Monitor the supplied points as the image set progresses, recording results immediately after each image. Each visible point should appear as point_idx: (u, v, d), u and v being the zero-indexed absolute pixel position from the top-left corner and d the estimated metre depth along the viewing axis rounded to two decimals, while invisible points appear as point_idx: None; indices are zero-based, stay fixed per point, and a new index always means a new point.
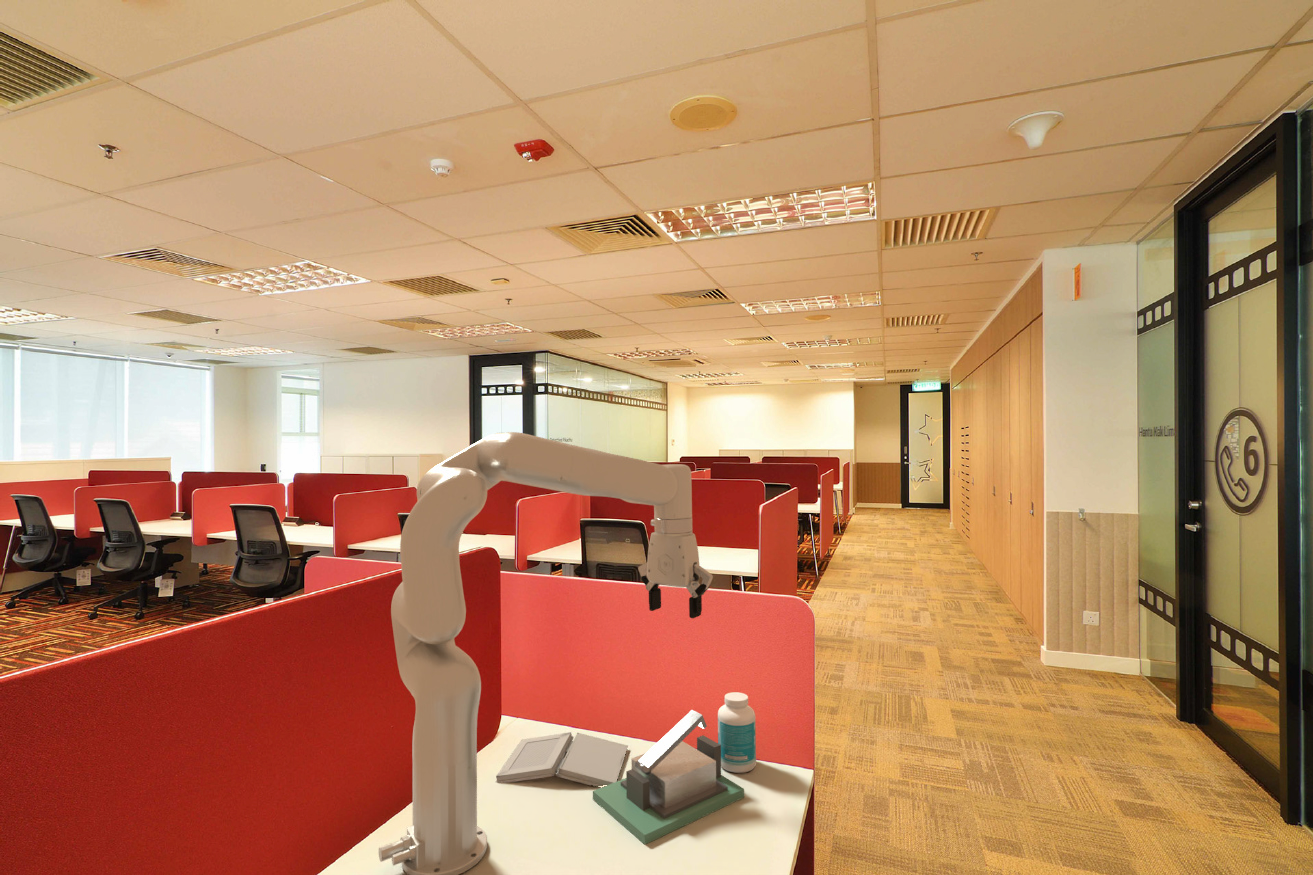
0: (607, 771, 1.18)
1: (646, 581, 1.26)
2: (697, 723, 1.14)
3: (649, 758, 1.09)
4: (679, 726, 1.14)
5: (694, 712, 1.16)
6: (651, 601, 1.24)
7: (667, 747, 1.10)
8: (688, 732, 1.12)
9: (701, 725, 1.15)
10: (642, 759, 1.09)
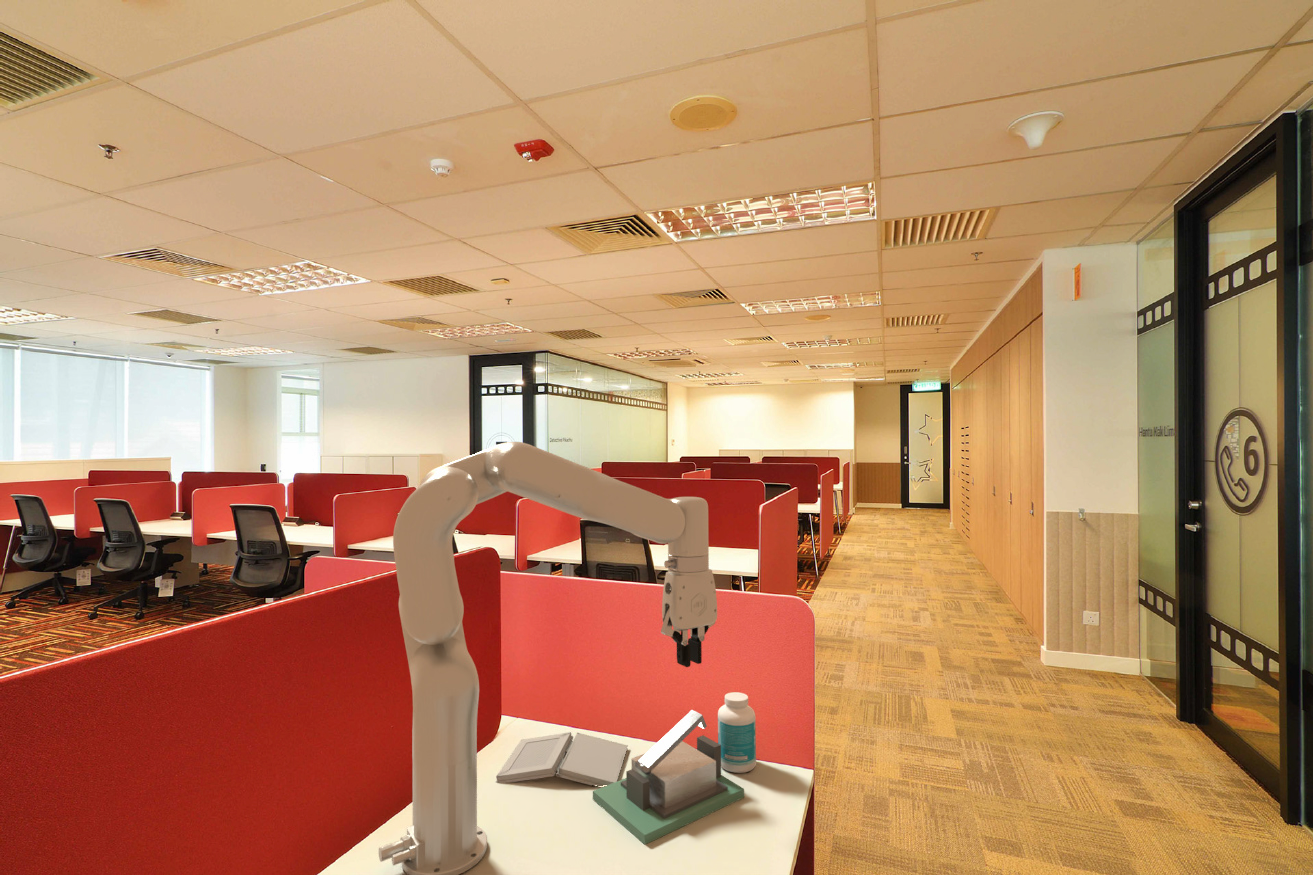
0: (607, 771, 1.19)
1: (679, 636, 1.13)
2: (697, 723, 1.14)
3: (649, 758, 1.09)
4: (679, 726, 1.14)
5: (694, 712, 1.16)
6: (689, 656, 1.13)
7: (667, 747, 1.10)
8: (688, 732, 1.12)
9: (701, 725, 1.15)
10: (642, 759, 1.09)
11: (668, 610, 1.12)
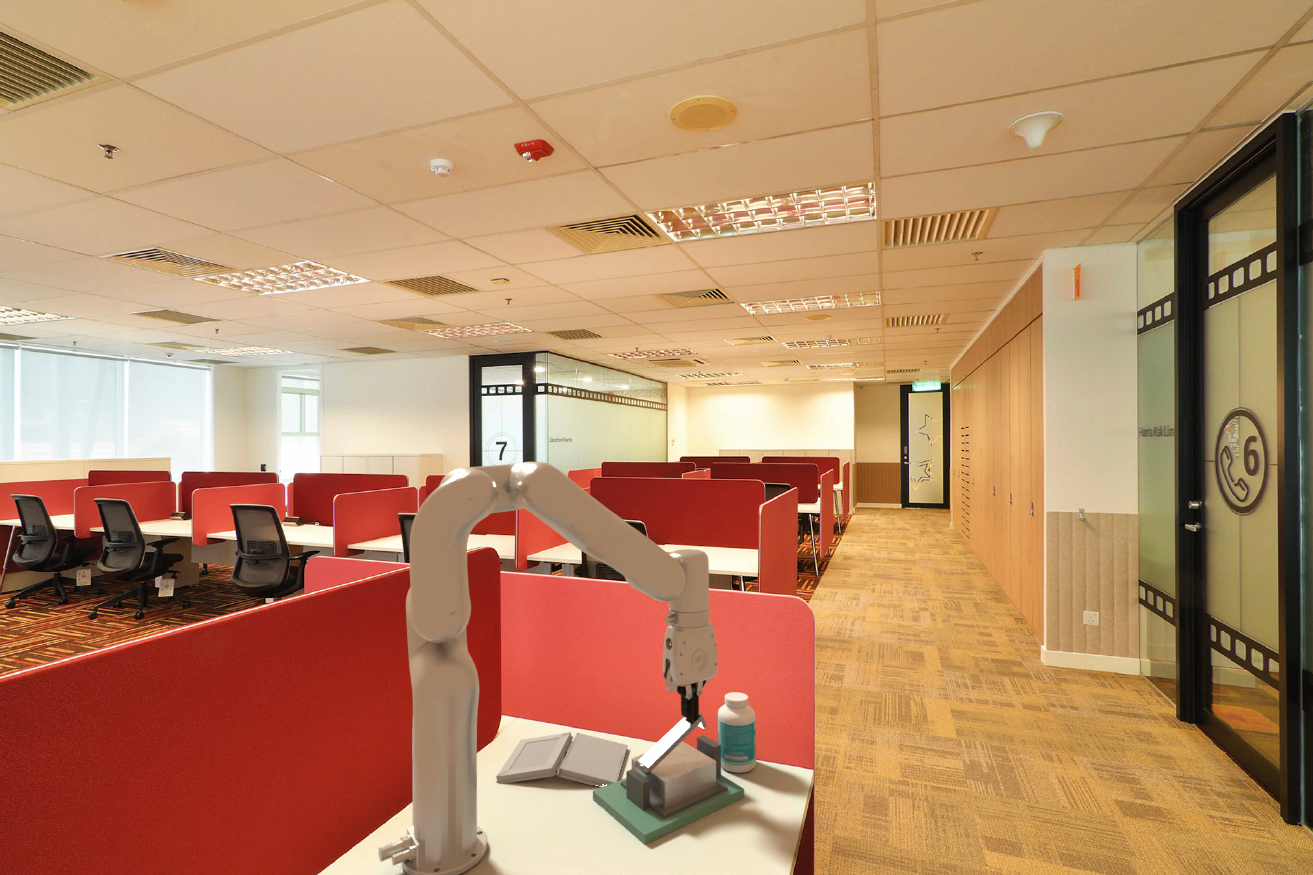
0: (607, 771, 1.19)
1: (684, 690, 1.13)
2: (697, 723, 1.14)
3: (649, 758, 1.09)
4: (679, 726, 1.14)
5: None
6: (694, 709, 1.13)
7: (667, 747, 1.10)
8: (688, 732, 1.12)
9: (701, 725, 1.15)
10: (642, 759, 1.09)
11: (669, 666, 1.12)
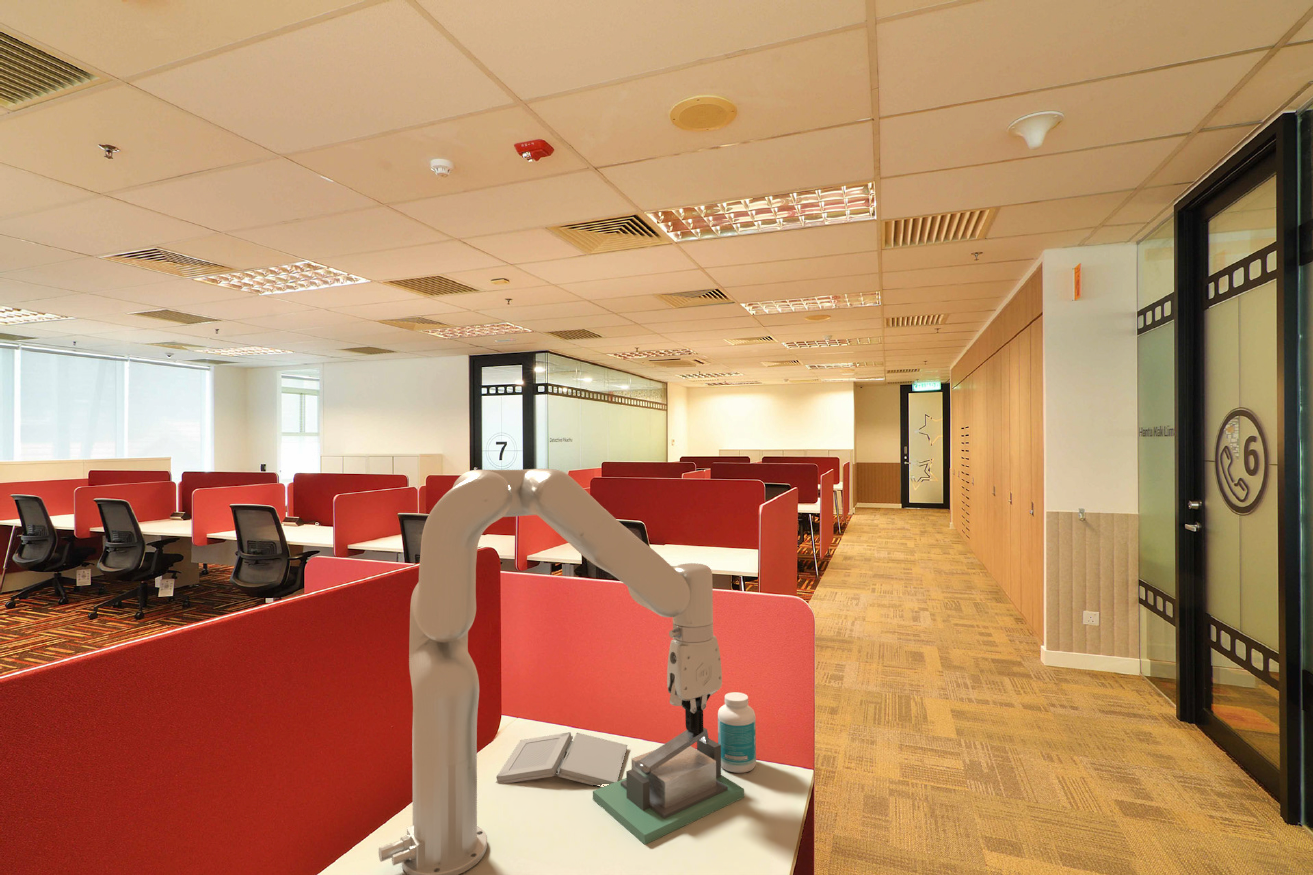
0: (608, 771, 1.19)
1: (688, 704, 1.13)
2: (701, 736, 1.14)
3: (650, 759, 1.09)
4: (682, 735, 1.14)
5: None
6: (698, 723, 1.14)
7: (669, 752, 1.10)
8: (691, 743, 1.13)
9: (704, 740, 1.15)
10: (643, 760, 1.09)
11: (674, 680, 1.13)
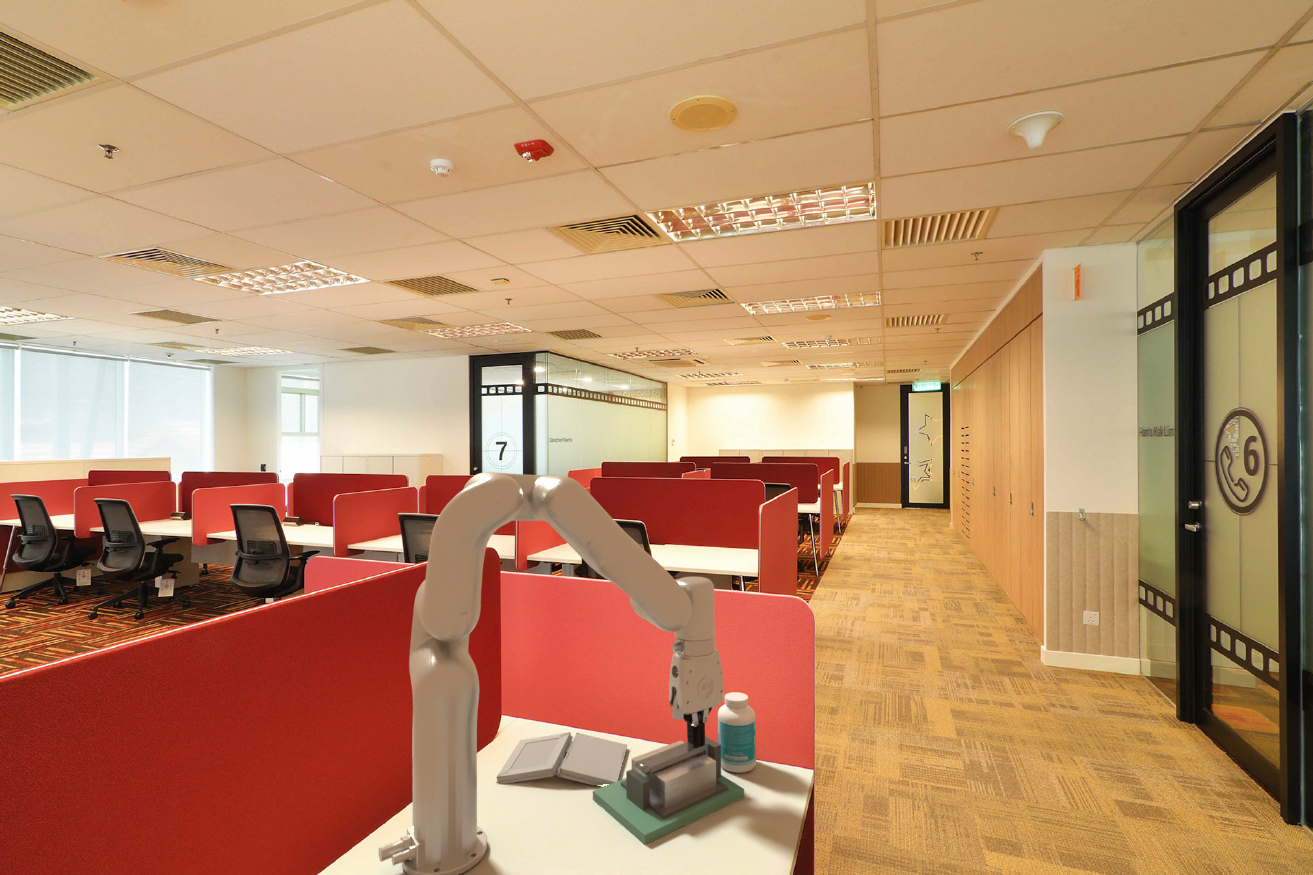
0: (608, 770, 1.19)
1: (690, 717, 1.14)
2: (702, 749, 1.14)
3: (651, 761, 1.09)
4: (684, 745, 1.14)
5: None
6: (700, 736, 1.14)
7: (670, 758, 1.10)
8: (692, 753, 1.13)
9: None
10: (643, 760, 1.09)
11: (676, 694, 1.13)
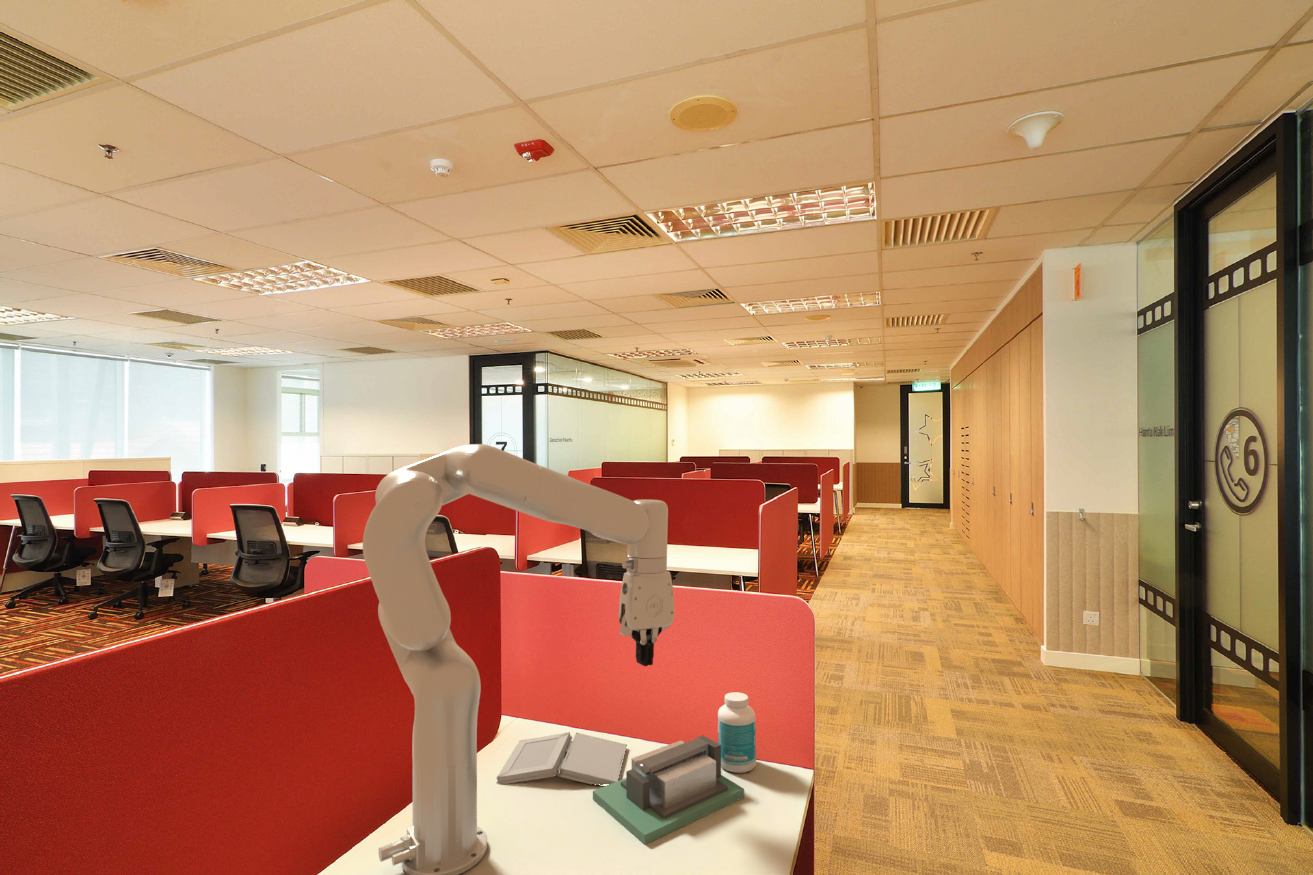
0: (608, 770, 1.19)
1: (638, 635, 1.15)
2: (702, 749, 1.14)
3: (651, 761, 1.09)
4: (684, 745, 1.14)
5: (700, 740, 1.17)
6: (648, 655, 1.15)
7: (670, 758, 1.10)
8: (692, 753, 1.13)
9: None
10: (643, 760, 1.09)
11: (625, 611, 1.14)
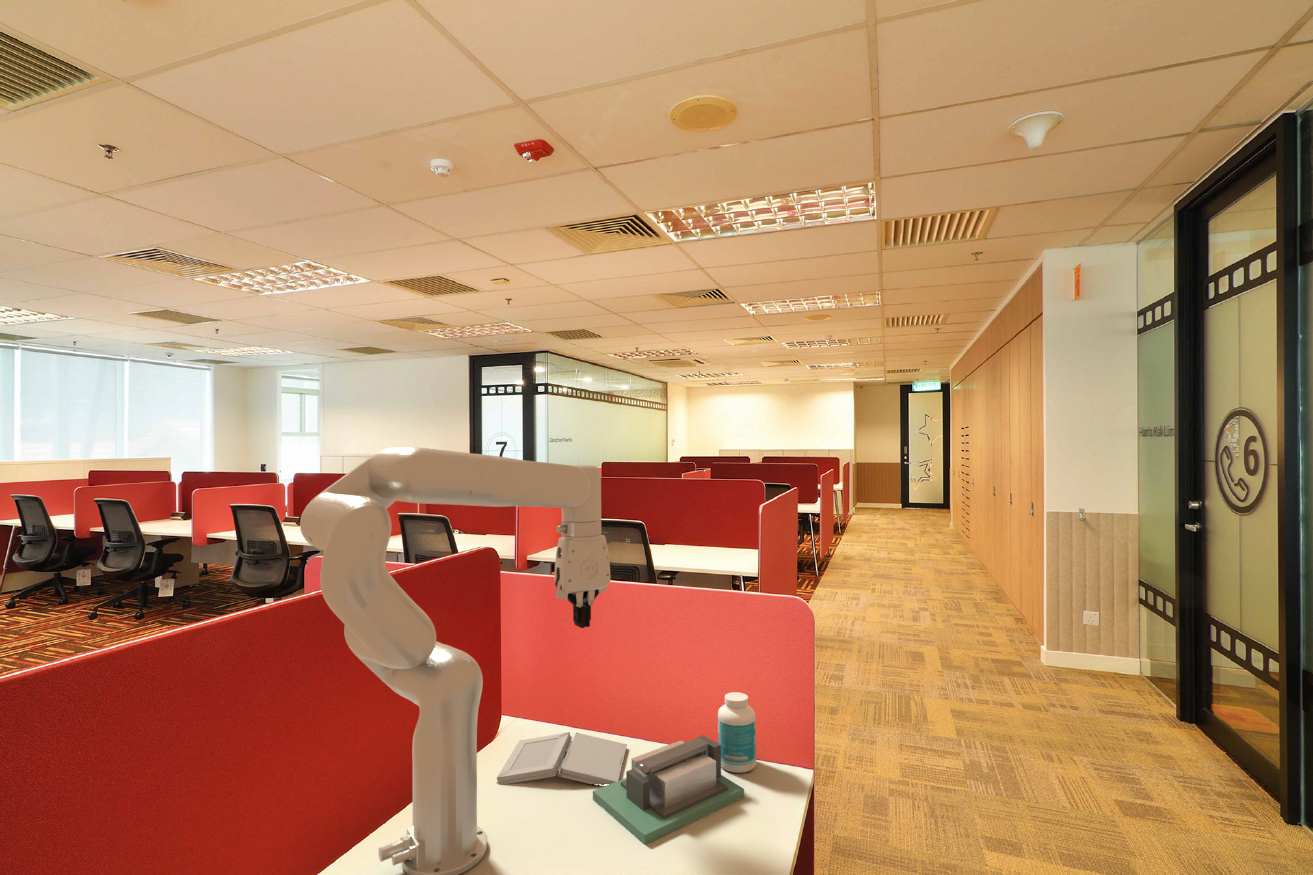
0: (608, 770, 1.19)
1: (574, 598, 1.17)
2: (702, 749, 1.14)
3: (651, 761, 1.09)
4: (684, 745, 1.14)
5: (700, 740, 1.17)
6: (584, 617, 1.17)
7: (670, 758, 1.10)
8: (692, 753, 1.13)
9: None
10: (643, 760, 1.09)
11: None
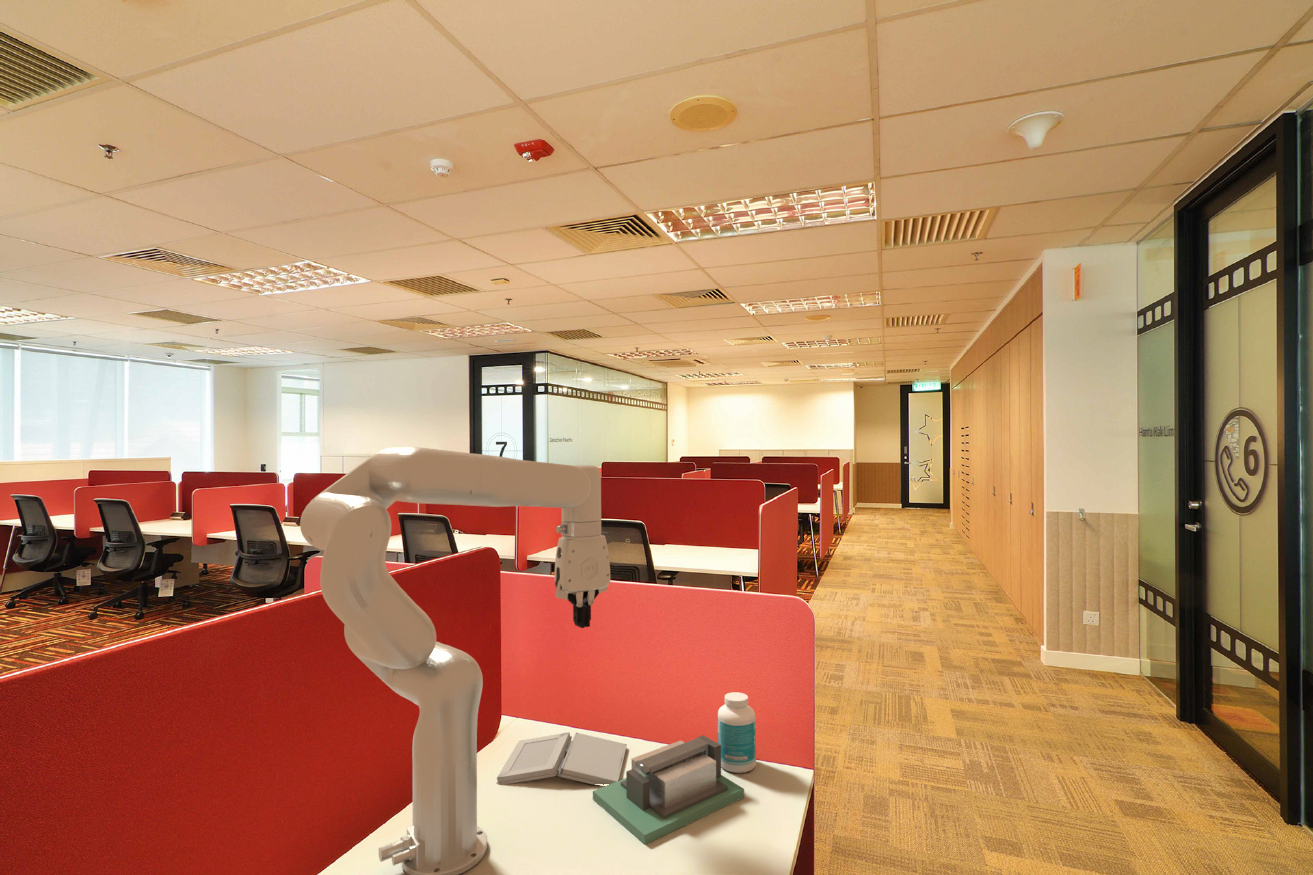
0: (608, 770, 1.19)
1: (574, 598, 1.17)
2: (702, 749, 1.14)
3: (651, 761, 1.09)
4: (684, 745, 1.14)
5: (700, 740, 1.17)
6: (584, 617, 1.17)
7: (670, 758, 1.10)
8: (692, 753, 1.13)
9: None
10: (643, 760, 1.09)
11: None
